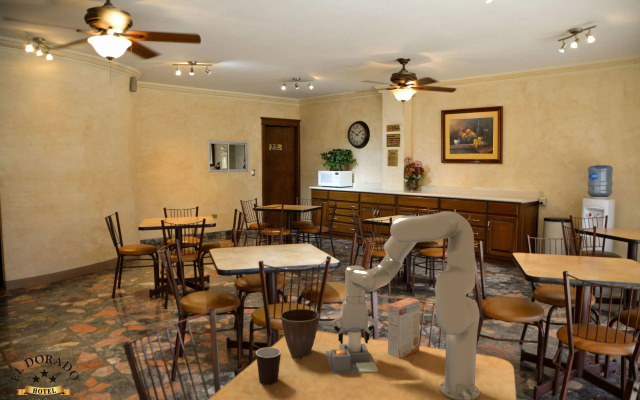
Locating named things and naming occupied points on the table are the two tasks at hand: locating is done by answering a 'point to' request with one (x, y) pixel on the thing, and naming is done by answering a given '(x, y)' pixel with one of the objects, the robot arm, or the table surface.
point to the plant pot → (300, 330)
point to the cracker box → (403, 327)
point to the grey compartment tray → (347, 360)
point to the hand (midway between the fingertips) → (353, 342)
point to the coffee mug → (268, 365)
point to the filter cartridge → (354, 340)
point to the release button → (340, 352)
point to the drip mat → (367, 367)
